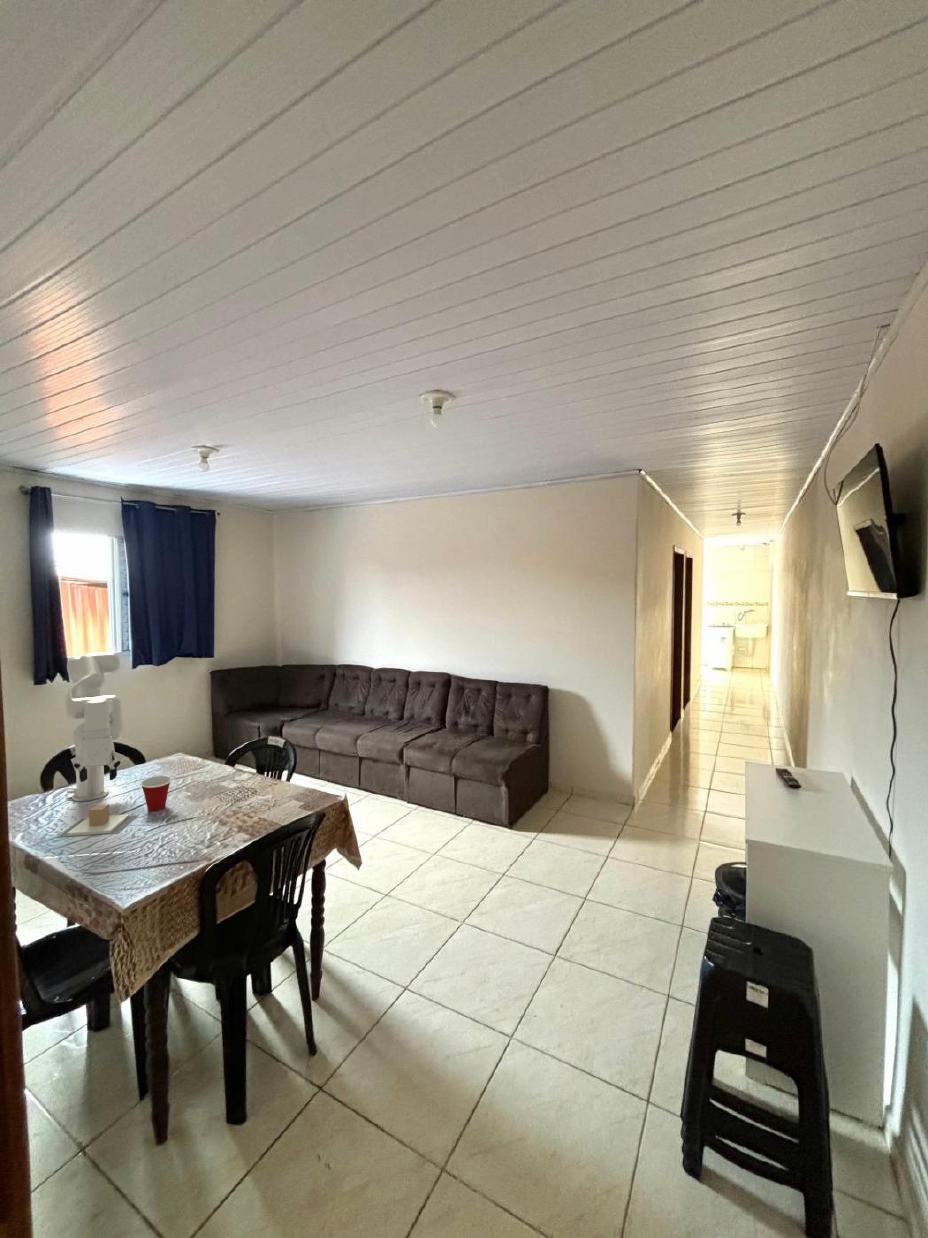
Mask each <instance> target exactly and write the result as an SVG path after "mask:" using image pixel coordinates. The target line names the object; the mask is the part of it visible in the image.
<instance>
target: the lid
mask: <svg viewBox="0 0 928 1238" xmlns="http://www.w3.org/2000/svg"><path fill="white" fill-rule="evenodd" d="M129 816H130V814H129V813H128V814H113V815H110V805H109V804H96V805H94V806H93V807H91V808H90V809H88V816H87V817H86V818H87V819H86V818H84V819H85V820H84V821H83V822H81V823H80V824H79V825H77V826H76V827H75V828H73V829H72V830H70V831H69V832H68V833H67V836H73V835H89V834H104V833H111V832H112V831H113V830H115V829H116V828H117V827H118V826H119V825H120V824H122V823H123V822H124V821H125V820H126V819H127V818H129Z"/></svg>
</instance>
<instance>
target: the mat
mask: <svg viewBox="0 0 928 1238" xmlns="http://www.w3.org/2000/svg"><path fill="white" fill-rule="evenodd" d="M138 817H140V816H139V815H129V818H127V819H126V820H125V821H124V822H123V823H122V824H120V825H119V826H118V827H117V828H116V829H115V830H113V831H112V832H111V833H104V834H89V835H73V836H67V833H68V832H69V831H70V830H72V829H73V828H75V827H76V826H77V825H79V824H80V823H81V822H83V821H84V820H85V819H87V818H88V817H86V818H80V820H78V821H77V822H75V823H74V824H73V825H71V826H70V827H69V828H67V829H65V830H64V831H63V832H61V834H59V835H58V836H56V837H55V838H56V839H58V838H59V839H63V838H73V837H74V838H75V837H88V836H90V837H91V836H104V835H105V836H108V835H118V834H120V833H121V832H122V831H123V830H125V829H126V827H127V826H129V825H130V824H131V823H132V822H133V821H134V820H135V819H137V818H138Z"/></svg>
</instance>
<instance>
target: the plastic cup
mask: <svg viewBox="0 0 928 1238" xmlns="http://www.w3.org/2000/svg"><path fill="white" fill-rule="evenodd" d="M171 782H172V777H171V776H168V775H155V776H151V777H147V778H146V779H143V780H142V781H140V786H141V788H142V791H143V795H144V799H145V804H146V809H147V810H148V811H149V812H158V811H161V810H163V809H165V808H166V805H167V800H168V799H167V798H168V793H169V788H170V784H171Z"/></svg>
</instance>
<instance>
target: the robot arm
mask: <svg viewBox="0 0 928 1238" xmlns="http://www.w3.org/2000/svg"><path fill="white" fill-rule="evenodd" d="M120 668H121V661H120V657H119V654H117V653H115V652H100V653H99V652H98V653H97V652H96V653H87V654H86V653H85V654H83V655H81V656H76V657H72V658H70V659H68V660H67V662H66V669H67V673H68V676H69V678H70V680H71V682H72V685H71V687H70V688H69V689H68V690H67V692H66V695H65V712H66V715H67V717H68V718H69V719H71V720H83V721H84V722H83V723H81V724H78V725H76V726H75V727H74V728H73V730H72V739H73V745H74V750H75V757H73V758H71V759H70V761H71V763H72V764H73V767H74V768H75V769H76V770H75V771H76V772H75V773H76V774H75V776H76V779H75V780H76V786H75V787H74V786H70V787H69V786H68V787H67V789H66V790H67V791H66V793H67V794H72V797H71V799H72V800H73V801H74V802H89V801H93V800H97V799H101V798H103V797H105V796H108V794H109V792H110V791H109V789H108V788H105V771H104V770H105V767H104V766H108V767H109V768H110V769H109V771H108V772H109V781H113V780H115V779H117V778H116V777H117V776H118V768H119V766H120V765H121V764H122V762H123V761H124V759H125V755H124V754H121V753H119V752H116V751H115V743H114V742H119V741H120V740H121V739H122V738H123V735H124V734H123V733H124V728H123V726H124V725H123V711H122V702H121V699H120V697H119V696H118V695H115V694H109V695H101V694H100V691H101V688H102V687H103V686H104V685H105V682H106V681H105V680H106V679H105V675H106V676H108V675H115V674H117V673H118V672H119V670H120ZM116 758H117V761H115V759H116Z"/></svg>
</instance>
